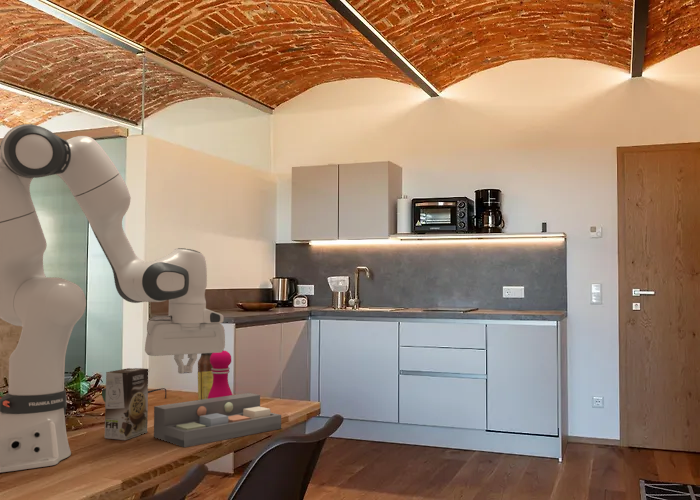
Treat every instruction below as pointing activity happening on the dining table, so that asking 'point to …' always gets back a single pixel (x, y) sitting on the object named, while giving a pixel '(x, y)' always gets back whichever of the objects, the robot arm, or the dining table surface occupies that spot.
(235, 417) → the key terracotta
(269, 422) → the keypad
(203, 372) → the sauce bottle
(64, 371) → the robot arm
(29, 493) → the dining table surface
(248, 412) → the key cream
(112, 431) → the cookie box
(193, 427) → the key sage
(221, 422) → the key slate
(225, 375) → the pepper mill
